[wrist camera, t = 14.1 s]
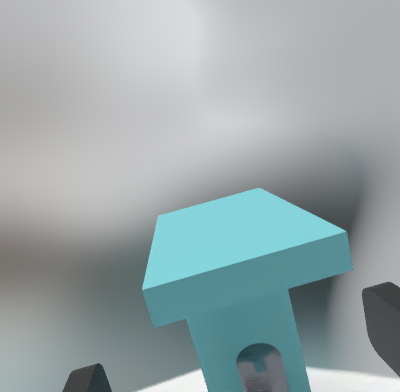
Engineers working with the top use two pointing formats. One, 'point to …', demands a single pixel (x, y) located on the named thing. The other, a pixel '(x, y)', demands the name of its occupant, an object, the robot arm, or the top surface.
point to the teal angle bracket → (240, 278)
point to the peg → (262, 369)
